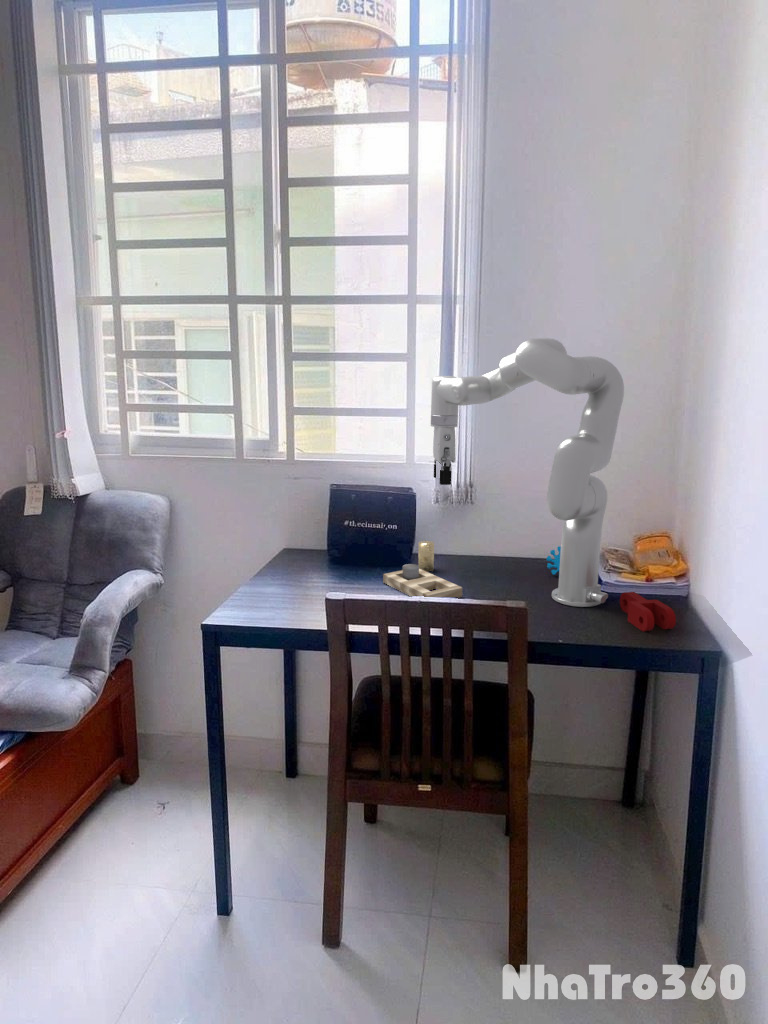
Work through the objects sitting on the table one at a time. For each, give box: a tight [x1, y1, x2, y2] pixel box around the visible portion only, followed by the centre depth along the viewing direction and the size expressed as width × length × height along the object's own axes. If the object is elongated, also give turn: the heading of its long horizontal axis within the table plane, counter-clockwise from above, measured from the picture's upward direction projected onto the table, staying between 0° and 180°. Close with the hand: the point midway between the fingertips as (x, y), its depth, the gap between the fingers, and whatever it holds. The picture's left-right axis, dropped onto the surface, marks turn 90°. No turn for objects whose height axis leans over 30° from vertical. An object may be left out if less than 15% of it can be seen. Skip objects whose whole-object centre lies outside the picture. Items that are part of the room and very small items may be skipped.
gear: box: [546, 545, 561, 576], centre depth 205 cm, size 11×6×10 cm
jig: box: [382, 563, 463, 599], centre depth 192 cm, size 20×11×5 cm, turn 33°
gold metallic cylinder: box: [417, 540, 435, 573], centre depth 208 cm, size 4×4×8 cm
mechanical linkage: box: [619, 591, 677, 632], centre depth 172 cm, size 16×7×5 cm, turn 12°
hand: (442, 481), depth 209 cm, fingers open, 9 cm apart
